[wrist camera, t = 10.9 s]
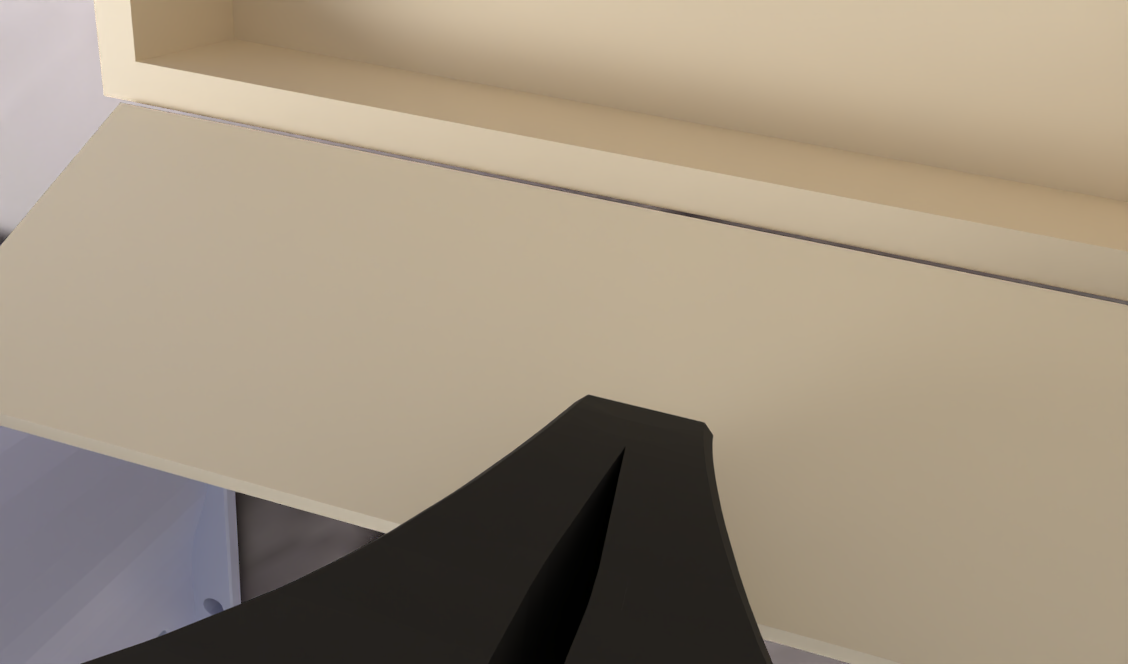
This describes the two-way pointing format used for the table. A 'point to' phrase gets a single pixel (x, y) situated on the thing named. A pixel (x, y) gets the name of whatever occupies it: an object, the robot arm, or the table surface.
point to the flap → (584, 375)
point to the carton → (702, 107)
